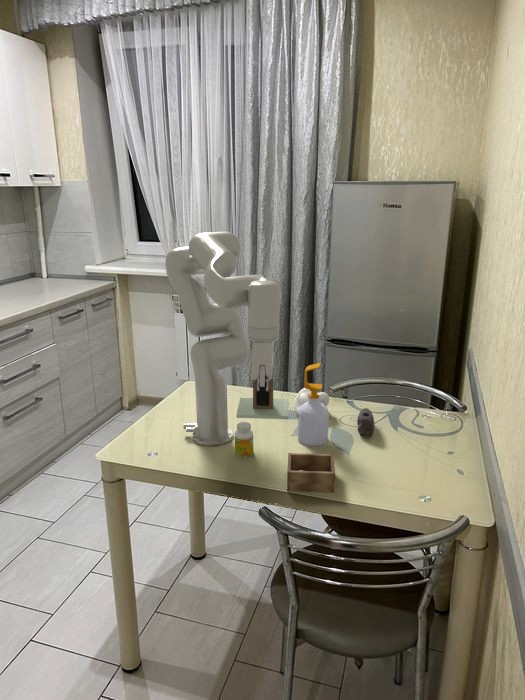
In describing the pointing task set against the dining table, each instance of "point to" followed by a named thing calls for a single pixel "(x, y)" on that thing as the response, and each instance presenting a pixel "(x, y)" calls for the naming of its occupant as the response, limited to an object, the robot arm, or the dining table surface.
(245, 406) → the lid
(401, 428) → the dining table surface
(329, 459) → the box
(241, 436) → the supplement bottle
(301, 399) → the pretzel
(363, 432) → the perforated stone tool
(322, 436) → the soap bottle
